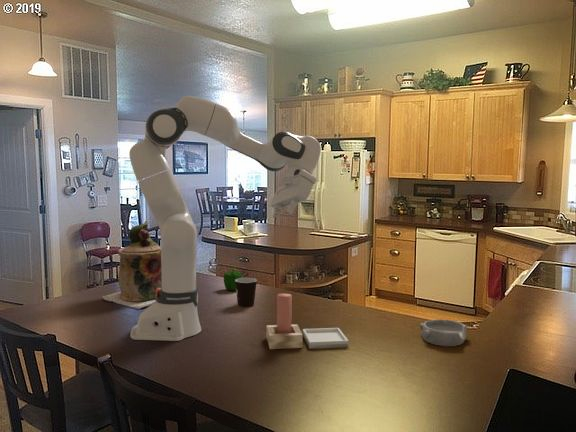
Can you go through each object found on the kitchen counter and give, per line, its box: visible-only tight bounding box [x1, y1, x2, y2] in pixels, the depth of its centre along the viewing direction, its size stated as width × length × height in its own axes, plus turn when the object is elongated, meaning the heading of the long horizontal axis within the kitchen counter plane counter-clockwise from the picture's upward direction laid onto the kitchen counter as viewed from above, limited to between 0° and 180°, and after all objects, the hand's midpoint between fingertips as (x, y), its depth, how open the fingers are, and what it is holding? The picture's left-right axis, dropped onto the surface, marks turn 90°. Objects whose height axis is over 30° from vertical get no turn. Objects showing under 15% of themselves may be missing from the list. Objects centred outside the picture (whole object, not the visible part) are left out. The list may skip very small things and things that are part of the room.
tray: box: [302, 327, 349, 350], centre depth 149 cm, size 12×12×2 cm
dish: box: [419, 318, 468, 347], centre depth 151 cm, size 14×14×5 cm
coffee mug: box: [235, 277, 258, 308], centre depth 189 cm, size 12×9×10 cm
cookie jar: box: [101, 220, 162, 310], centre depth 194 cm, size 25×25×32 cm
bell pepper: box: [223, 268, 243, 292], centre depth 211 cm, size 8×8×10 cm
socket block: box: [265, 323, 304, 350], centre depth 147 cm, size 10×10×4 cm
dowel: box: [276, 293, 293, 334], centre depth 146 cm, size 4×4×15 cm
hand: (281, 215), depth 155 cm, fingers open, 8 cm apart
